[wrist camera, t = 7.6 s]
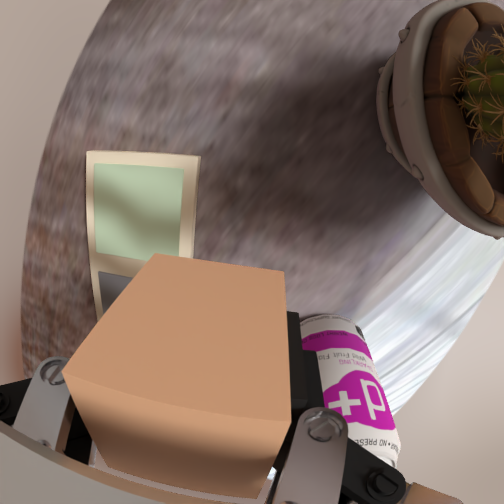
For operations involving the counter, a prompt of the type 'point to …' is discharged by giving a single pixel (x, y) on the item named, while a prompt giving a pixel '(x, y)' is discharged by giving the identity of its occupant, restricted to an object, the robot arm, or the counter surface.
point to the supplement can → (352, 383)
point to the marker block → (189, 376)
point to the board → (136, 214)
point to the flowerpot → (450, 108)
